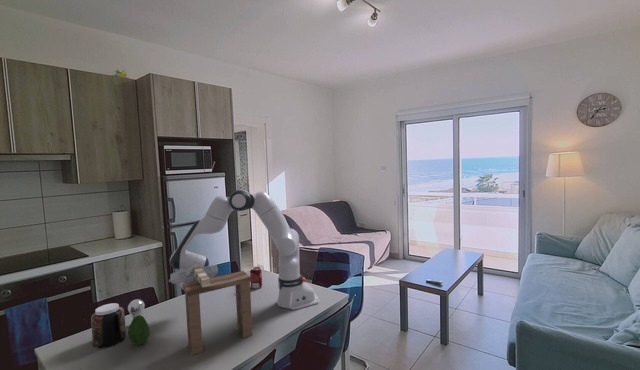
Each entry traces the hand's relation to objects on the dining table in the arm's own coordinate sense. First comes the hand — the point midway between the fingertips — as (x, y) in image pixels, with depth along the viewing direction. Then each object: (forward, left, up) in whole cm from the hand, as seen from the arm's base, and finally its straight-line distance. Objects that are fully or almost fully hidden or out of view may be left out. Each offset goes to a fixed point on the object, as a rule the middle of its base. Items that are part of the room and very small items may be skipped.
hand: (197, 269), depth 139 cm
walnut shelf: (-8, +8, -29) cm, 31 cm away
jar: (+38, -8, -29) cm, 48 cm away
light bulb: (+30, -20, -29) cm, 46 cm away
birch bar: (-2, +7, -2) cm, 8 cm away
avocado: (+25, -1, -29) cm, 38 cm away
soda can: (-29, -44, -29) cm, 60 cm away
